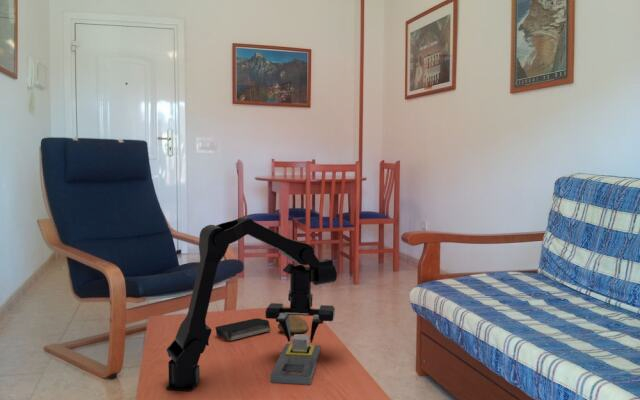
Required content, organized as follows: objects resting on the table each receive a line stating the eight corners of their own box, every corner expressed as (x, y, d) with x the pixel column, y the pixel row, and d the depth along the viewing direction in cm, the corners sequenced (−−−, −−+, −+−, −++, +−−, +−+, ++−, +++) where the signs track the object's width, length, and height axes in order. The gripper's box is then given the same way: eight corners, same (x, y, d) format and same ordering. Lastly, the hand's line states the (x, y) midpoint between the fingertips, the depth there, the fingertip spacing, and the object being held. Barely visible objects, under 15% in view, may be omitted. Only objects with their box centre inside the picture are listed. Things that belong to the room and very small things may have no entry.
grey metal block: (292, 360, 143) (292, 339, 143) (294, 354, 147) (294, 334, 147) (306, 360, 143) (306, 339, 142) (308, 355, 147) (308, 334, 146)
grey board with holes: (270, 382, 129) (270, 373, 129) (285, 350, 150) (285, 342, 150) (310, 384, 128) (310, 375, 128) (320, 352, 149) (320, 344, 149)
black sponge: (226, 344, 155) (226, 332, 155) (213, 336, 162) (213, 325, 162) (272, 333, 165) (272, 322, 165) (258, 326, 172) (258, 315, 171)
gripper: (336, 281, 150) (336, 333, 151) (273, 278, 152) (273, 330, 154) (333, 291, 139) (332, 347, 140) (264, 288, 141) (265, 344, 143)
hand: (300, 341), depth 145 cm, fingers open, 6 cm apart
